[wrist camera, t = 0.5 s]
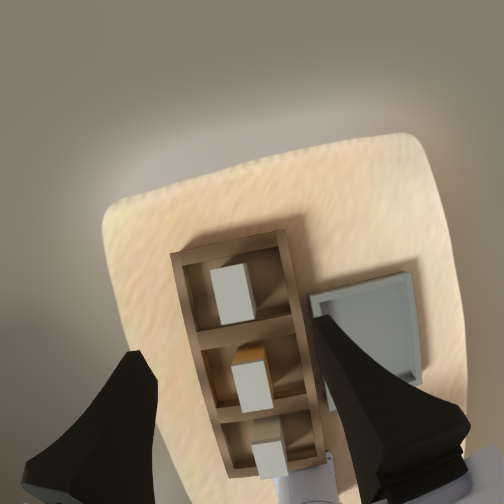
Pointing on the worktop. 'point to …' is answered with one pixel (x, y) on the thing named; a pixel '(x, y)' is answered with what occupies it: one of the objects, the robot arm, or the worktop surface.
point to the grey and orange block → (253, 378)
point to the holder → (245, 335)
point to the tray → (377, 322)
